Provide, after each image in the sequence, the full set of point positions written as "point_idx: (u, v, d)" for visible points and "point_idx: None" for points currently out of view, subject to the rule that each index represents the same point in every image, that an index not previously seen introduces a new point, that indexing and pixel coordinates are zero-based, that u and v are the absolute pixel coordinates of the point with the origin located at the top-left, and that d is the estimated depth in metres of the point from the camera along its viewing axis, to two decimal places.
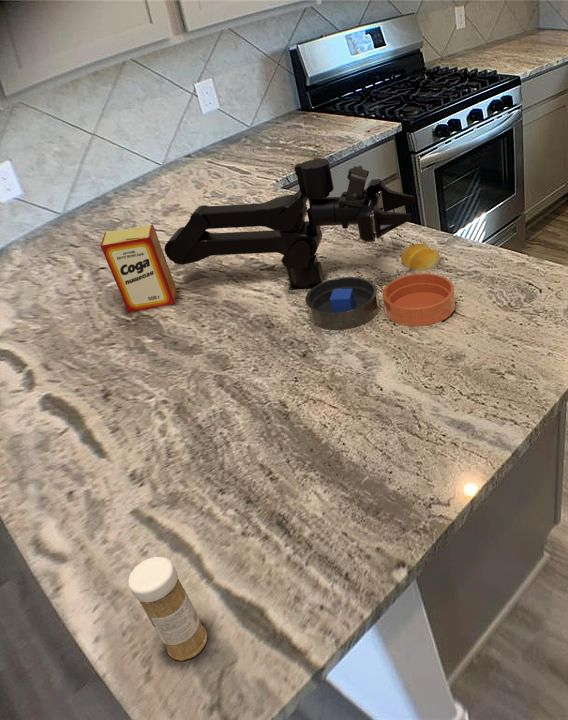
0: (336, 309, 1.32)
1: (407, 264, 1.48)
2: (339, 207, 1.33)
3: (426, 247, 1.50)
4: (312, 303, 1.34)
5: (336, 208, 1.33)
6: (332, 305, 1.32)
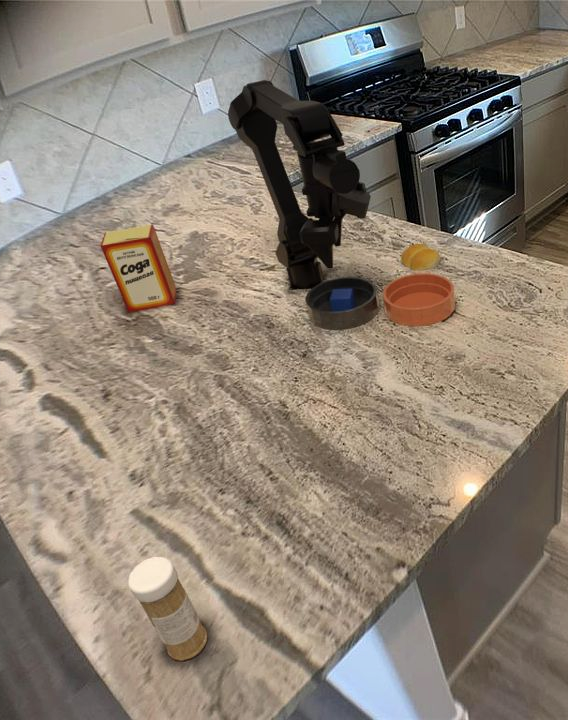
0: (336, 309, 1.32)
1: (407, 264, 1.48)
2: (327, 188, 1.17)
3: (426, 247, 1.50)
4: (312, 303, 1.34)
5: (325, 185, 1.17)
6: (332, 305, 1.32)
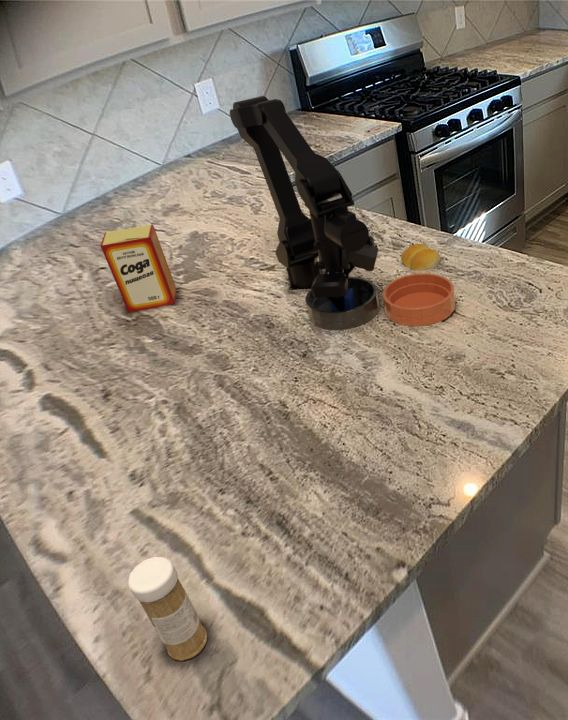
0: (336, 309, 1.32)
1: (407, 264, 1.48)
2: (337, 244, 1.23)
3: (426, 247, 1.50)
4: (312, 303, 1.34)
5: None
6: (332, 305, 1.32)
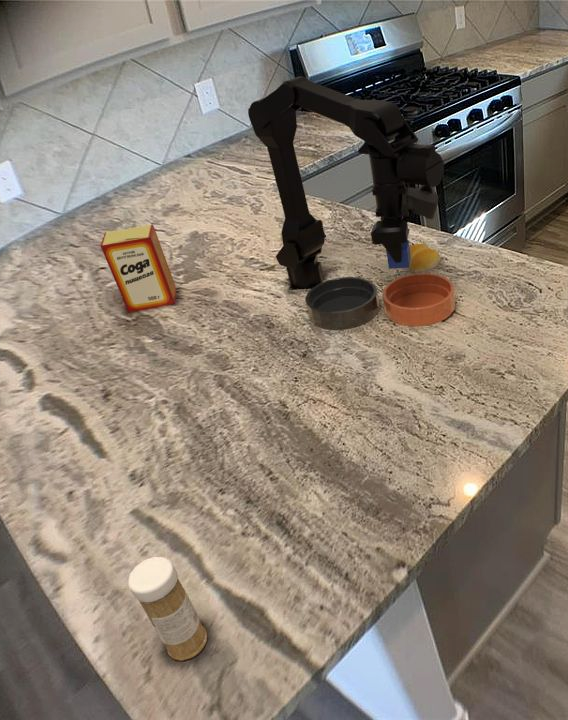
0: (392, 261, 1.26)
1: None
2: (397, 188, 1.17)
3: (426, 247, 1.50)
4: (312, 303, 1.34)
5: (396, 185, 1.17)
6: (388, 256, 1.25)
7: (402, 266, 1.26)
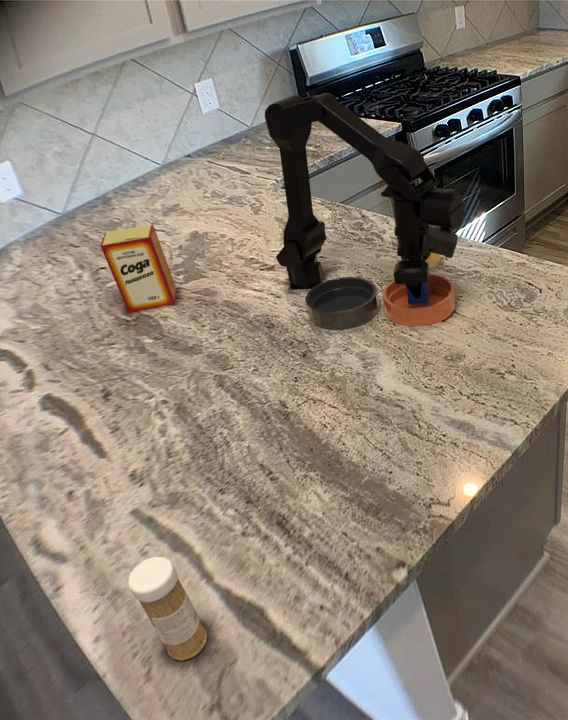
0: (412, 297, 1.31)
1: None
2: (419, 230, 1.22)
3: None
4: (312, 303, 1.34)
5: (417, 227, 1.21)
6: (408, 292, 1.30)
7: (421, 301, 1.31)
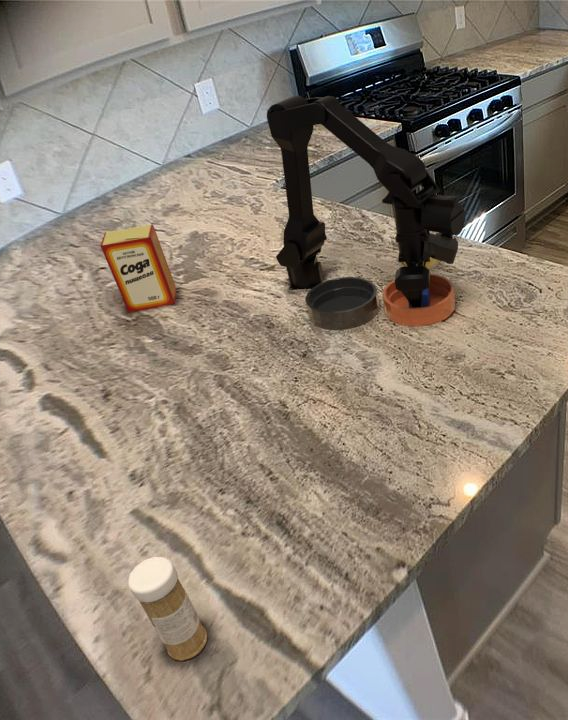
0: None
1: None
2: (420, 236, 1.22)
3: None
4: (312, 303, 1.34)
5: (418, 233, 1.22)
6: None
7: None
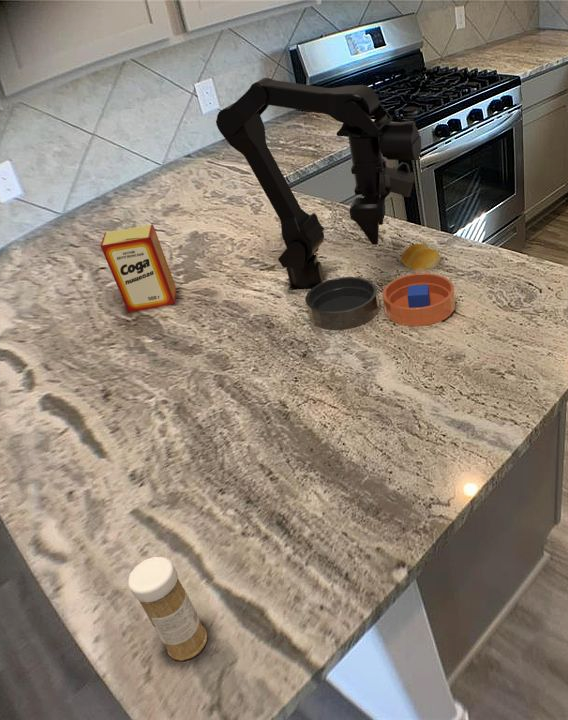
0: (413, 305, 1.32)
1: (407, 264, 1.48)
2: (375, 167, 1.24)
3: (426, 247, 1.50)
4: (312, 303, 1.34)
5: (373, 164, 1.24)
6: (409, 301, 1.31)
7: None
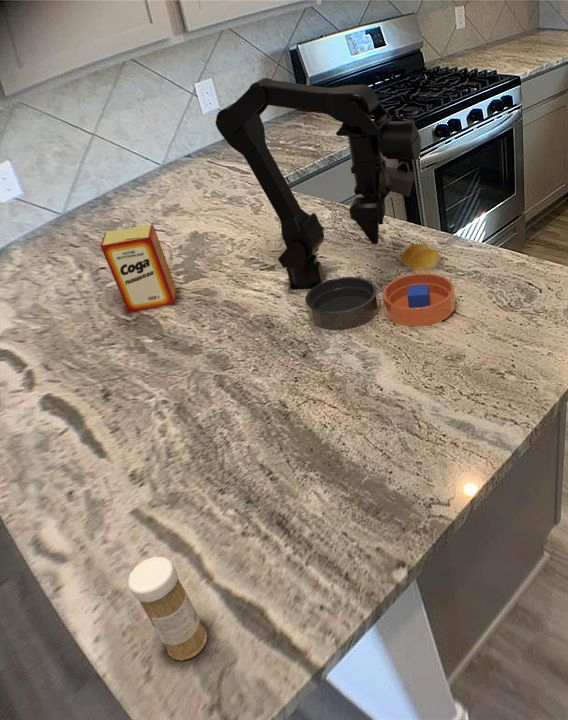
0: (413, 305, 1.32)
1: (407, 264, 1.48)
2: (375, 167, 1.24)
3: (426, 247, 1.50)
4: (312, 303, 1.34)
5: (373, 164, 1.24)
6: (409, 301, 1.31)
7: None
